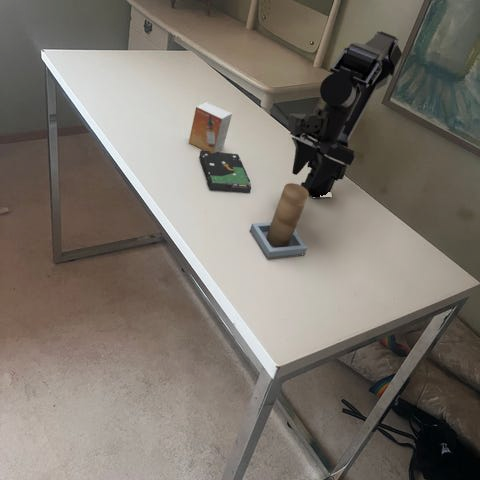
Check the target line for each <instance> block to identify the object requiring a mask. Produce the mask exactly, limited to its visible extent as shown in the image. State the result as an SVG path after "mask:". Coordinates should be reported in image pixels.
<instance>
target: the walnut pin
mask: <svg viewBox="0 0 480 480" xmlns="http://www.w3.org/2000/svg"><path fill="white" fill-rule="evenodd" d="M309 196H310V195H309V192H308V191H307V189H305V188H304V187H303V186H302V185H301V184H297V183H291V182H290V183H286V184H285V185H284V187H283V190H282V192H281V195H280V197H279V200H278V203H277V207H276V208H275V211H274V214H273V217H272V220H271V225H270V228H269V231H268V234H267V236H266V239H267V241H268V242H269V244H270V245H271V246H273V247H275V248H278V247H288V245H289V243H290V240H291V238H292V235H293V233H294V230H295V231H296V228H297V226H298V225H297V224H298V223H299V220H300V218H301V215H302V213H303V210H304V207H305V205H306V203H307V200H308V197H309Z"/></svg>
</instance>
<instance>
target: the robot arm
mask: <svg viewBox="0 0 480 480" xmlns="http://www.w3.org/2000/svg"><path fill="white" fill-rule="evenodd" d="M398 44H399V38H397V36H394V35H392V34H389V33H386V31H385V32H384V31H382V30H381V31H377V32H376V33H375V34H374V36H373V37H372V38H371V39H369V40H367V41H366V42H365V43H364V44H363V43H358V42H353V43H350V44H349V45H348V46H347V47H345V48H343V50H342V51H341V53H340V54H339V55H338V57H337V58H336V60H335V62H334V63H333V65H332V66H330V69H329V72H330V74H329V75H327V76H326V77H325V78H324V79H323V80H322V81H321V83H320V87H319V88H320V89H319V93H320V94H319V95H320V97H321V99H322V101H324V103H323V106H322V109H321V108H320V107H318V108H317V109H316V110H315V111H314V113H311V114H310V113H289V116H288V126H287V130H288V131H290V133H289V134H290V135H291V140H292V141H293V144H294V146H295V153H294V160H293V165H292V171H291V173H292V174H293V175H295V176H297V175H298V174H299V173H300V172H301V171H302V170H303V169H304V168H305V166H306V165H307V168H310V172H308V174H307V175H306V179H305V181H303V182H301V184H300V185H301V186H303V187H304V188H305V189H307V191H308V192H309V194H310V195H311V196H312V197H320V195H321V196H323V195H326V194H327V193H328V192H331V190H332V188H333V186H334V185H335V182H336V181H337V182H338V181H339V180H343V179H344V177H345V175H346V172H347V169H348V166H352V165H353V162H354V161H355V159H356V153H355V150H353V149H351V148H349V140H350V139H351V137H352V135H353V133H354V132H355V129H356V127H357V126H358V124H359V122H360V120H361V118H362V117H363V114H364V113H365V111H366V110H367V108H368V105H369V104H370V102H371V100H372V99H373V96H374V95H375V92H376V91H378V90H379V89H381V88H383V87H385V86H386V85H387V84H388V82H389V80H390V79H391V78H392V77H394V76H395V75H396V73H397V72H398V69H399V67H400V65H401V62H402V58H403V53H402V51H401V49H400V47H399V45H398ZM292 136H293V137H292ZM310 195H309V196H310ZM311 196H310V197H311ZM312 197H311V198H312Z"/></svg>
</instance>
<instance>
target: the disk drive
mask: <svg viewBox="0 0 480 480" xmlns="http://www.w3.org/2000/svg"><path fill="white" fill-rule="evenodd" d="M198 158H199V162H200V164H201V167H202V171H203V174H204V177H205V182H206V185H207V187H208V190H209V191H213V192H214V191H215V192H228V193H229V192H230V193H239V194H240V193H241V194H251V190H252V185H251V184H252V183H251V180H250V178H249V176H248V174H247V171H246V169H245V167H244V164H243V162H242V160H241V156H239V154H238V153H228V152H220V151H218V152H216V153H213V154H212V153H210V152H209V151H205V150H203V149H201V150H200V151H199V157H198Z"/></svg>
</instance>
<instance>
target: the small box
mask: <svg viewBox="0 0 480 480" xmlns="http://www.w3.org/2000/svg"><path fill="white" fill-rule="evenodd" d="M232 116H233V113H232V112H230V111H227V110H225V109H222V108H220V107H218V106H216V105H214V104H212V103H210V102H208V101H206V102H204V103H201V104H199V105H197V106H196V107H195V111H194V115H193V118H192V119H193V120H192V125H191V130H190V133H189V139H188V143H189V144H191V145H194V147H197V148H199V149H201V150H203V151H209V152H210V153H212V154H213V153H216V152H220V151H221V150H223V149H224V146H225V143H226V138H227V136H228V131H229V128H230V123H231V120H232Z"/></svg>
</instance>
